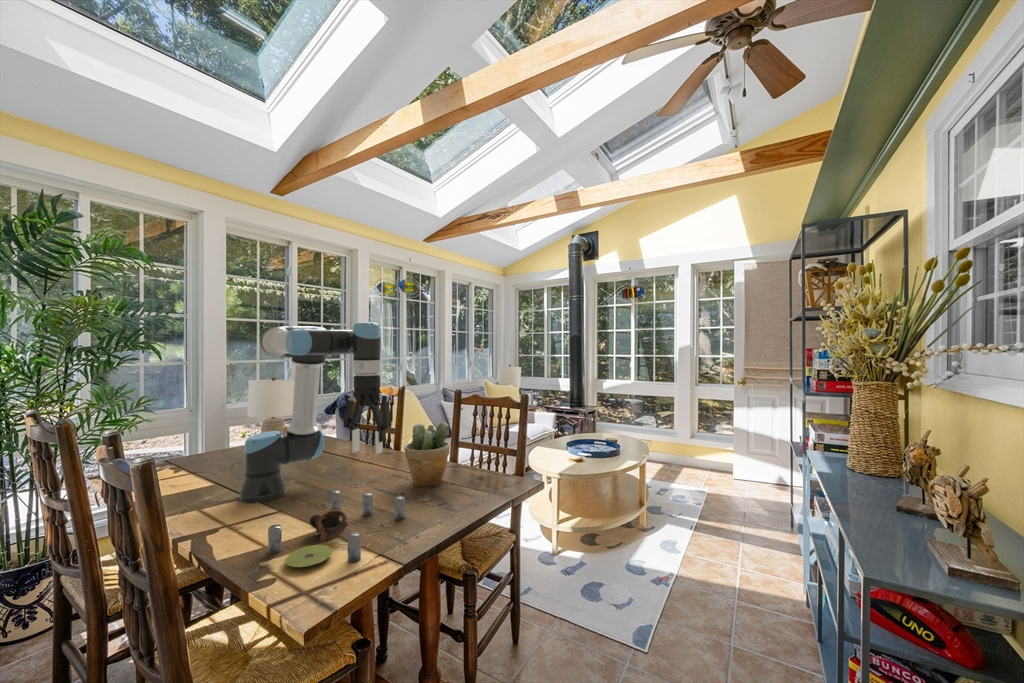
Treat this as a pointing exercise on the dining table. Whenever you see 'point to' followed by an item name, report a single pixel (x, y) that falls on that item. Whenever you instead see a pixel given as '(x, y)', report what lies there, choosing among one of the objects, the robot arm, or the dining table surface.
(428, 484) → the potted plant
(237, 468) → the dining table surface
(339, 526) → the pottery mug
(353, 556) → the posts
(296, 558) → the green disc
